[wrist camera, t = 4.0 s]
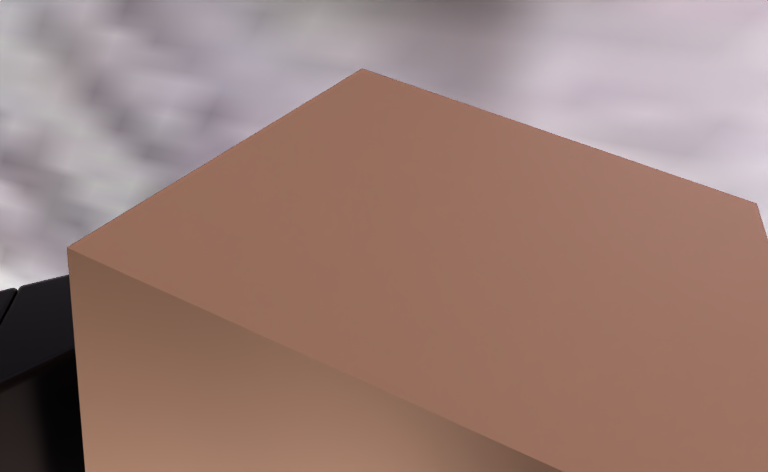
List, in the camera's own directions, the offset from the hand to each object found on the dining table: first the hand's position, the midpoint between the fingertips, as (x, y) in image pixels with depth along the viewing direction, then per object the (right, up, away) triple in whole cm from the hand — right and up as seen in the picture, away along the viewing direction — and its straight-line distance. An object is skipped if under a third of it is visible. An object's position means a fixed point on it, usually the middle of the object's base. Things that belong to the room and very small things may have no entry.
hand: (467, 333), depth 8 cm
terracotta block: (0, 0, +1) cm, 1 cm away
